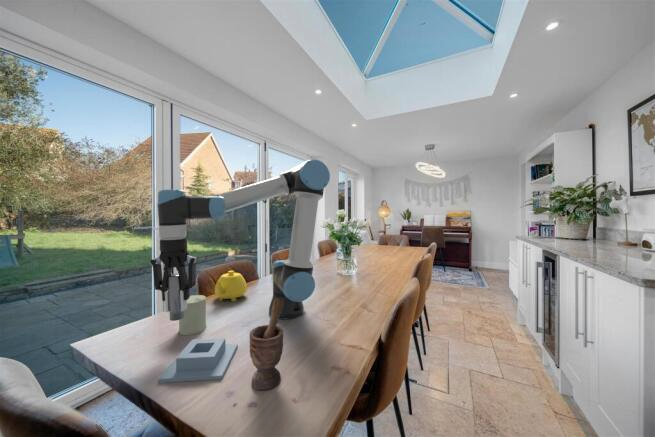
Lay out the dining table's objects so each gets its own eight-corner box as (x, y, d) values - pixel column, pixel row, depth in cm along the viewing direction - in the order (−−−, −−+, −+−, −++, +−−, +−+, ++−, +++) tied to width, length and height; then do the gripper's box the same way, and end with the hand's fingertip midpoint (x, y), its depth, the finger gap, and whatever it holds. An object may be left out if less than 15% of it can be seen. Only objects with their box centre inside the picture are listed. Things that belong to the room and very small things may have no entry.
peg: (186, 315, 84) (184, 273, 83) (180, 320, 80) (178, 276, 79) (173, 315, 83) (171, 274, 83) (167, 321, 79) (165, 277, 79)
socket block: (237, 346, 83) (237, 333, 82) (222, 379, 67) (221, 362, 66) (186, 349, 81) (186, 335, 81) (158, 382, 65) (157, 365, 65)
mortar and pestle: (257, 363, 73) (257, 296, 73) (287, 363, 74) (287, 296, 73) (245, 392, 62) (244, 312, 61) (280, 392, 62) (280, 312, 61)
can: (194, 336, 89) (194, 303, 89) (172, 333, 91) (172, 301, 91) (211, 324, 98) (211, 294, 98) (191, 322, 100) (190, 292, 100)
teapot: (232, 307, 116) (232, 278, 115) (202, 305, 118) (201, 276, 118) (252, 293, 135) (252, 268, 135) (226, 291, 138) (225, 267, 138)
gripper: (205, 236, 85) (208, 304, 86) (152, 237, 83) (155, 306, 84) (196, 238, 78) (199, 313, 79) (137, 240, 76) (141, 316, 77)
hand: (176, 309), depth 81 cm, fingers closed on peg, 4 cm apart
